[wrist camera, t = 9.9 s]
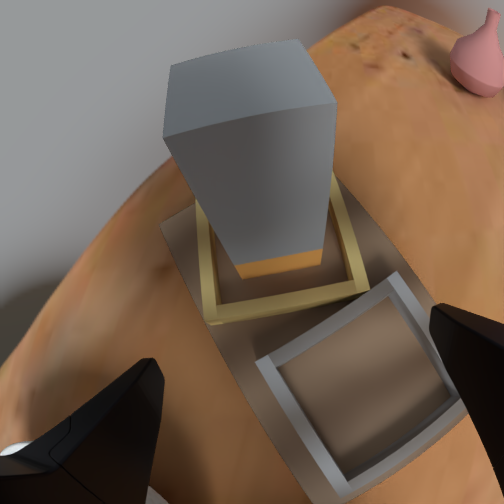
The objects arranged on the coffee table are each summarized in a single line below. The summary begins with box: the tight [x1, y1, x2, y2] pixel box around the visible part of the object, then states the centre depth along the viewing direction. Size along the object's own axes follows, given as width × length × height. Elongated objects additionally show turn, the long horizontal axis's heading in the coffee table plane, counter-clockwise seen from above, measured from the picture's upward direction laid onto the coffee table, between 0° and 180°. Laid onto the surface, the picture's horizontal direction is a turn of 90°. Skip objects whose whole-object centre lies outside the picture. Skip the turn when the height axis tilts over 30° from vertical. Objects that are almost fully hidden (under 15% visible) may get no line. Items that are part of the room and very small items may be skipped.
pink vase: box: [450, 8, 504, 97], centre depth 20 cm, size 8×8×12 cm
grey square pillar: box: [163, 39, 337, 280], centre depth 14 cm, size 4×5×12 cm
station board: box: [159, 170, 468, 504], centre depth 17 cm, size 23×13×2 cm, turn 29°
